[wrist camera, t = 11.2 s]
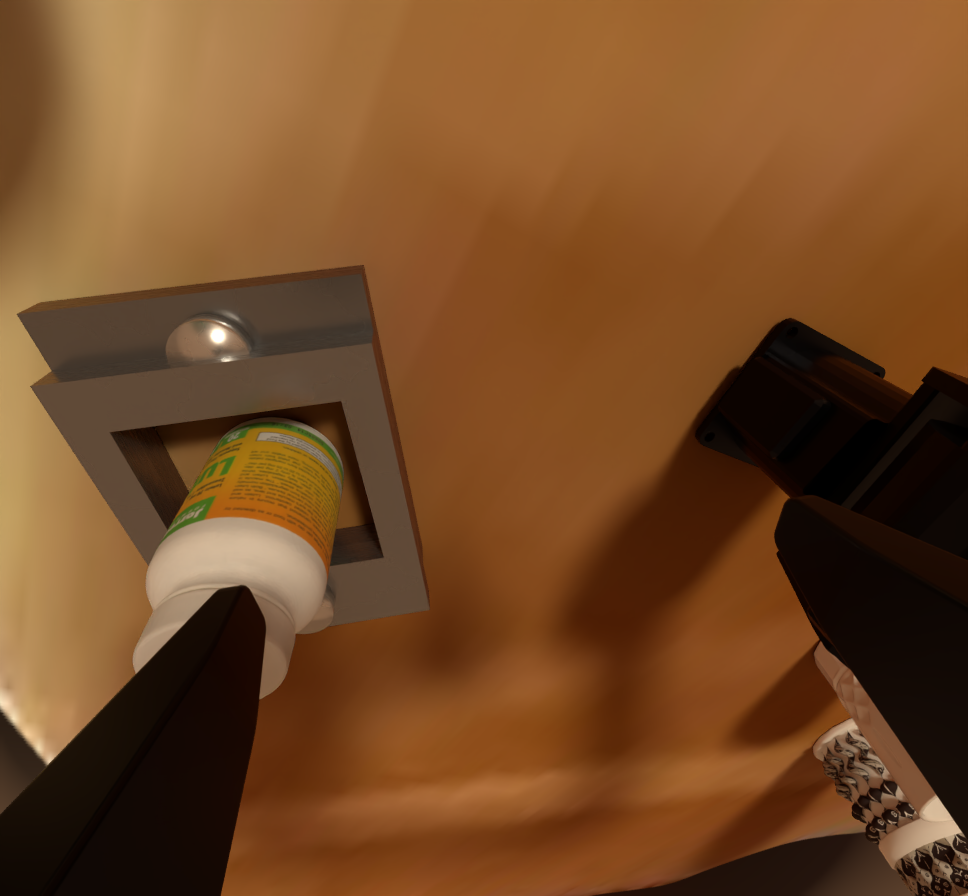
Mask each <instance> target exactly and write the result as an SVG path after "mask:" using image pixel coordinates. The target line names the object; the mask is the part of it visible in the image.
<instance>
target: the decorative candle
mask: <svg viewBox="0 0 968 896" xmlns="http://www.w3.org/2000/svg"><path fill="white" fill-rule="evenodd" d="M813 754H814V755H815V757H816V758H817V759H819V760H821V761H822V762H823V767H824V768H825V769H824V773H825V775H827V776H828V777H831V778H832V779H833V780H835V786H836V792H837V793H838V794H839V795H840V796H842V797H844V798H845V799H847V800H849V801H851V802H853V803H854V804H853V805H852V816H853V817H854V818H855V819H857V820H860V821H861V822H863V823H867V824H868V825H867V826H866V834H865V835H866V838H867V839H868V840H869V841H871V842H874V843H876V844H878V845H879V849H880V851H881V852H882V854H883V855H884V857H885V858H886V860H887V861H888V863H889V864H890V866H891V868H892V869H894V870H896V871H897V873H898V874H899V876H900V877H901V879H902V880H903V882H904V883H905V885H906V886H907V888H908V889H909V891H910V892H911V894H912V895H913V896H968V840H967V839H966V838H965V836H964V835H963V833H962V832H961V830H960V829H959V827H958V826H957V824H956V823H955V822H954V821H947V822H928V821H924V820H922V819H921V818H920V817H919V815H918V814H917V813H916V811H915V810H914V808H913V807H912V805H911V804H910V802H909V801H908V799H907V798H906V797H905V795H904V794H903V792H902V791H901V789H900V788H899V786H898V785H897V784H896V782H895V781H894V779H893V778H892V776H891V775H890V773H889V772H888V771H887V769H886V768H885V766H884V765H883V763H882V762H881V761H880V759H879V758H878V756H877V755H876V753H875V752H874V751H873V749H872V748H871V746H870V745H869V743H868V742H867V740H866V739H865V738H864V736H863V735H862V733H861V732H860V730H859V729H858V727H857V726H856V724H855V722H854V720H853V719H852V718H850V719H848V720H846V721H844V722H842V723H840V724H838V725H836V726H834V727H832V728H831V729H830V730H828V731H827V732H826V733H824V734H823V735H822V736H821V737H819V739H818V740H817V741H816V743H815V744H814V746H813Z"/></svg>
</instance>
